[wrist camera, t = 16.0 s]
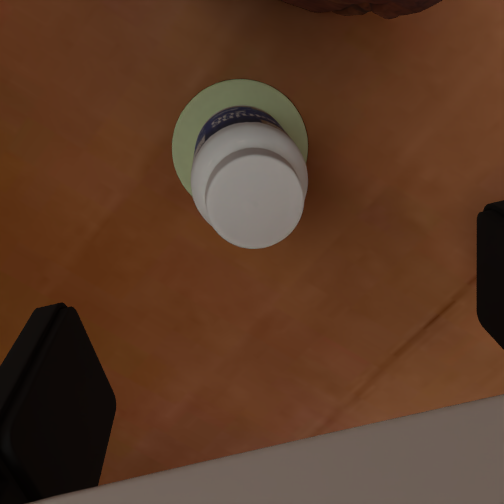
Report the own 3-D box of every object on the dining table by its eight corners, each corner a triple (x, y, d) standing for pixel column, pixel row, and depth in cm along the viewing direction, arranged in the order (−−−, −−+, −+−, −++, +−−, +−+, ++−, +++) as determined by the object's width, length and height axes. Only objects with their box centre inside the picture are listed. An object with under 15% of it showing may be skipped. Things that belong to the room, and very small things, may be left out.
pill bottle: (295, 112, 27) (337, 149, 18) (275, 200, 29) (304, 272, 20) (201, 94, 26) (198, 123, 17) (188, 187, 28) (179, 254, 19)
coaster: (154, 97, 26) (154, 97, 26) (294, 64, 26) (295, 64, 26) (192, 226, 30) (192, 228, 29) (316, 198, 30) (317, 199, 29)
